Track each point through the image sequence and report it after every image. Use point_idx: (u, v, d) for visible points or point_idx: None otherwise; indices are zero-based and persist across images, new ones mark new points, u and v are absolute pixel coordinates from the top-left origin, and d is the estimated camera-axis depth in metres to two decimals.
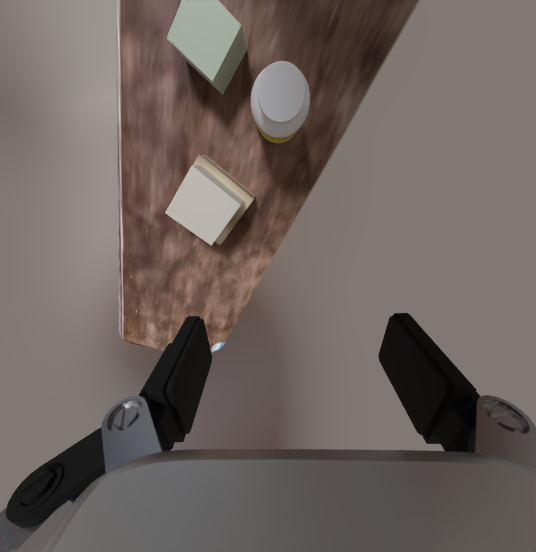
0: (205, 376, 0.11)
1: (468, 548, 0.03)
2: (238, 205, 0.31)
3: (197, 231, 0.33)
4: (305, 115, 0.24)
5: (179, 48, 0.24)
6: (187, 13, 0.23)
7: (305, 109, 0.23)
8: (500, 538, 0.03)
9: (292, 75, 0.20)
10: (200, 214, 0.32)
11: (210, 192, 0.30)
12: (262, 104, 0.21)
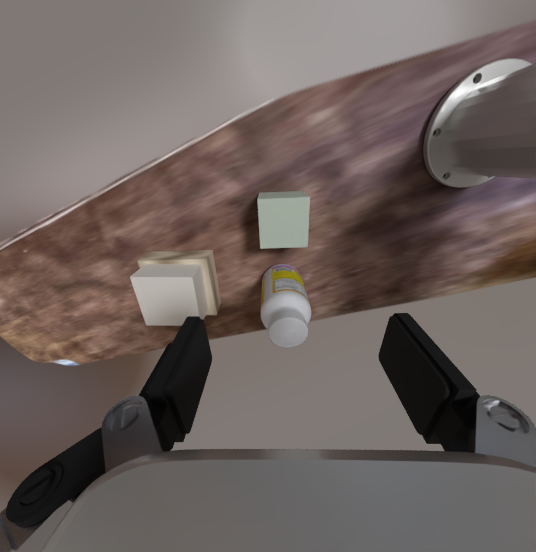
0: (205, 376, 0.11)
1: (468, 548, 0.03)
2: None
3: (145, 309, 0.30)
4: None
5: (259, 212, 0.25)
6: (284, 206, 0.25)
7: None
8: (500, 538, 0.03)
9: (302, 332, 0.25)
10: (161, 303, 0.29)
11: (187, 301, 0.29)
12: (272, 328, 0.24)
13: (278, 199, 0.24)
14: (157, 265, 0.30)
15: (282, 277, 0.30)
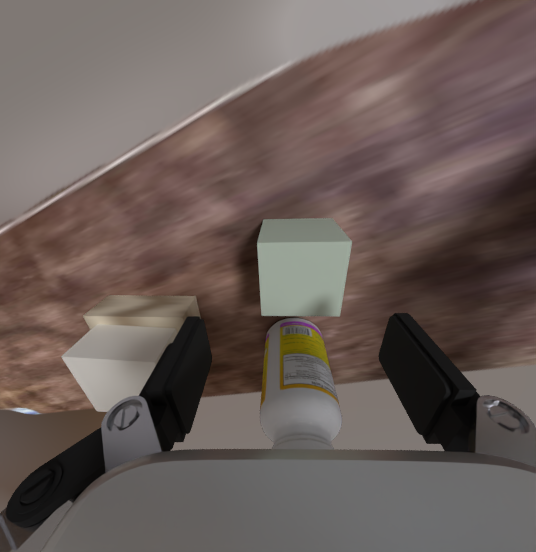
0: (205, 376, 0.11)
1: (467, 547, 0.03)
2: None
3: (91, 394, 0.20)
4: None
5: (260, 264, 0.15)
6: (305, 255, 0.14)
7: None
8: (500, 538, 0.03)
9: None
10: (113, 389, 0.20)
11: None
12: None
13: (294, 244, 0.14)
14: (112, 328, 0.21)
15: (295, 351, 0.19)
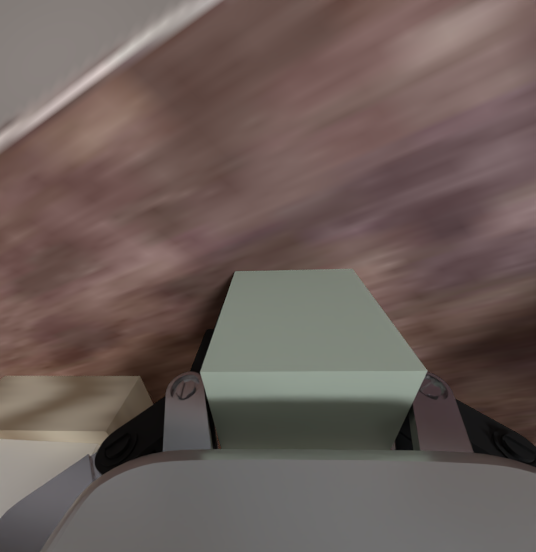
0: None
1: (468, 547, 0.03)
2: None
3: None
4: None
5: (213, 406, 0.06)
6: (314, 393, 0.06)
7: None
8: (500, 538, 0.03)
9: None
10: None
11: None
12: None
13: (289, 375, 0.06)
14: None
15: None
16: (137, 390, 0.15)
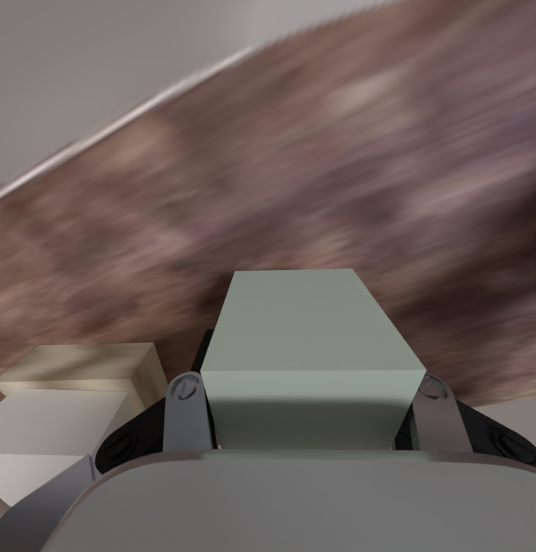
0: None
1: (468, 548, 0.03)
2: None
3: (0, 490, 0.15)
4: None
5: (213, 405, 0.07)
6: (314, 392, 0.06)
7: None
8: (500, 538, 0.03)
9: None
10: (32, 485, 0.14)
11: None
12: None
13: (289, 374, 0.06)
14: (37, 395, 0.15)
15: None
16: (151, 353, 0.18)
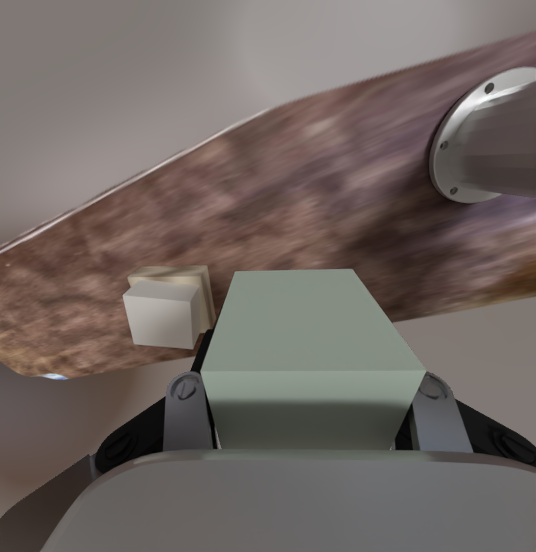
0: None
1: (468, 548, 0.03)
2: (190, 348, 0.30)
3: (135, 328, 0.28)
4: None
5: (213, 405, 0.07)
6: (314, 392, 0.06)
7: None
8: (500, 538, 0.03)
9: None
10: (153, 324, 0.28)
11: (181, 324, 0.28)
12: None
13: (289, 375, 0.06)
14: (152, 282, 0.29)
15: None
16: (206, 271, 0.32)
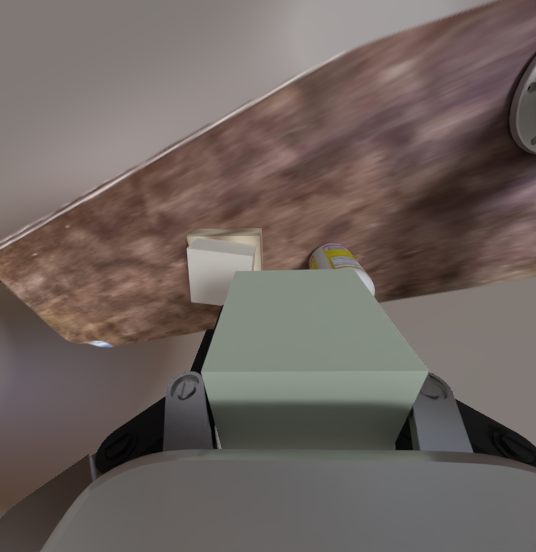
0: None
1: (468, 548, 0.03)
2: None
3: (194, 285, 0.28)
4: None
5: (214, 406, 0.06)
6: (315, 393, 0.06)
7: None
8: (500, 538, 0.03)
9: None
10: (212, 281, 0.28)
11: None
12: None
13: (290, 375, 0.06)
14: (210, 240, 0.29)
15: (338, 255, 0.28)
16: (261, 233, 0.32)
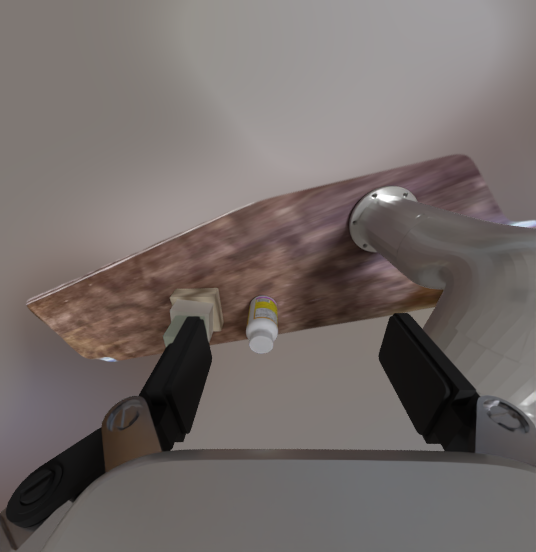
0: (205, 376, 0.11)
1: (468, 548, 0.03)
2: None
3: None
4: None
5: (165, 342, 0.40)
6: None
7: None
8: (500, 538, 0.03)
9: (269, 345, 0.41)
10: None
11: None
12: (251, 342, 0.41)
13: None
14: (185, 301, 0.47)
15: (261, 307, 0.46)
16: (217, 292, 0.50)
